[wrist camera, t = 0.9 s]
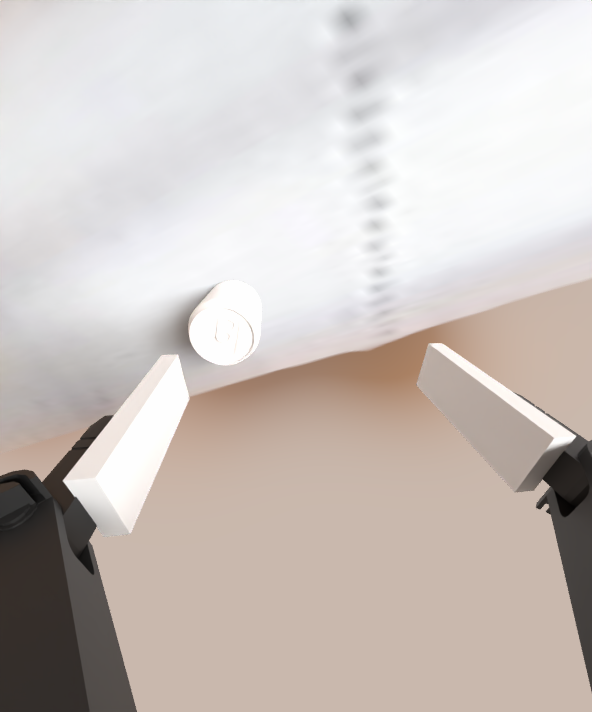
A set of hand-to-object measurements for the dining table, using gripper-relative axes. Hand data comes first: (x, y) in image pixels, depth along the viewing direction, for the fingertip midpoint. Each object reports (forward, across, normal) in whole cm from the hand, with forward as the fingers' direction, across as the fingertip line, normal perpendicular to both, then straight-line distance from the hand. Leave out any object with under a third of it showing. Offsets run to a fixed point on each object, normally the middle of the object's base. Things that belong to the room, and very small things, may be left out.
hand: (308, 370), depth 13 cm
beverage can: (+26, -7, -4) cm, 28 cm away
